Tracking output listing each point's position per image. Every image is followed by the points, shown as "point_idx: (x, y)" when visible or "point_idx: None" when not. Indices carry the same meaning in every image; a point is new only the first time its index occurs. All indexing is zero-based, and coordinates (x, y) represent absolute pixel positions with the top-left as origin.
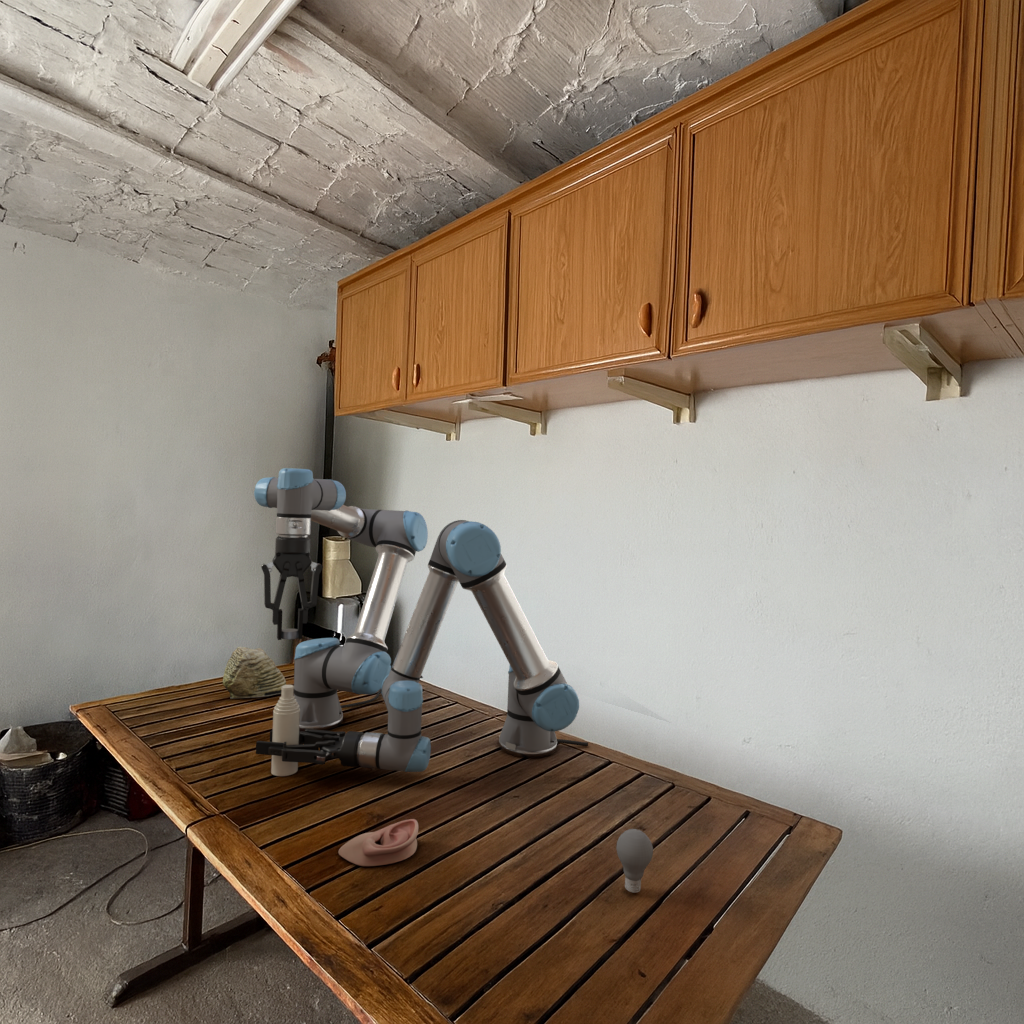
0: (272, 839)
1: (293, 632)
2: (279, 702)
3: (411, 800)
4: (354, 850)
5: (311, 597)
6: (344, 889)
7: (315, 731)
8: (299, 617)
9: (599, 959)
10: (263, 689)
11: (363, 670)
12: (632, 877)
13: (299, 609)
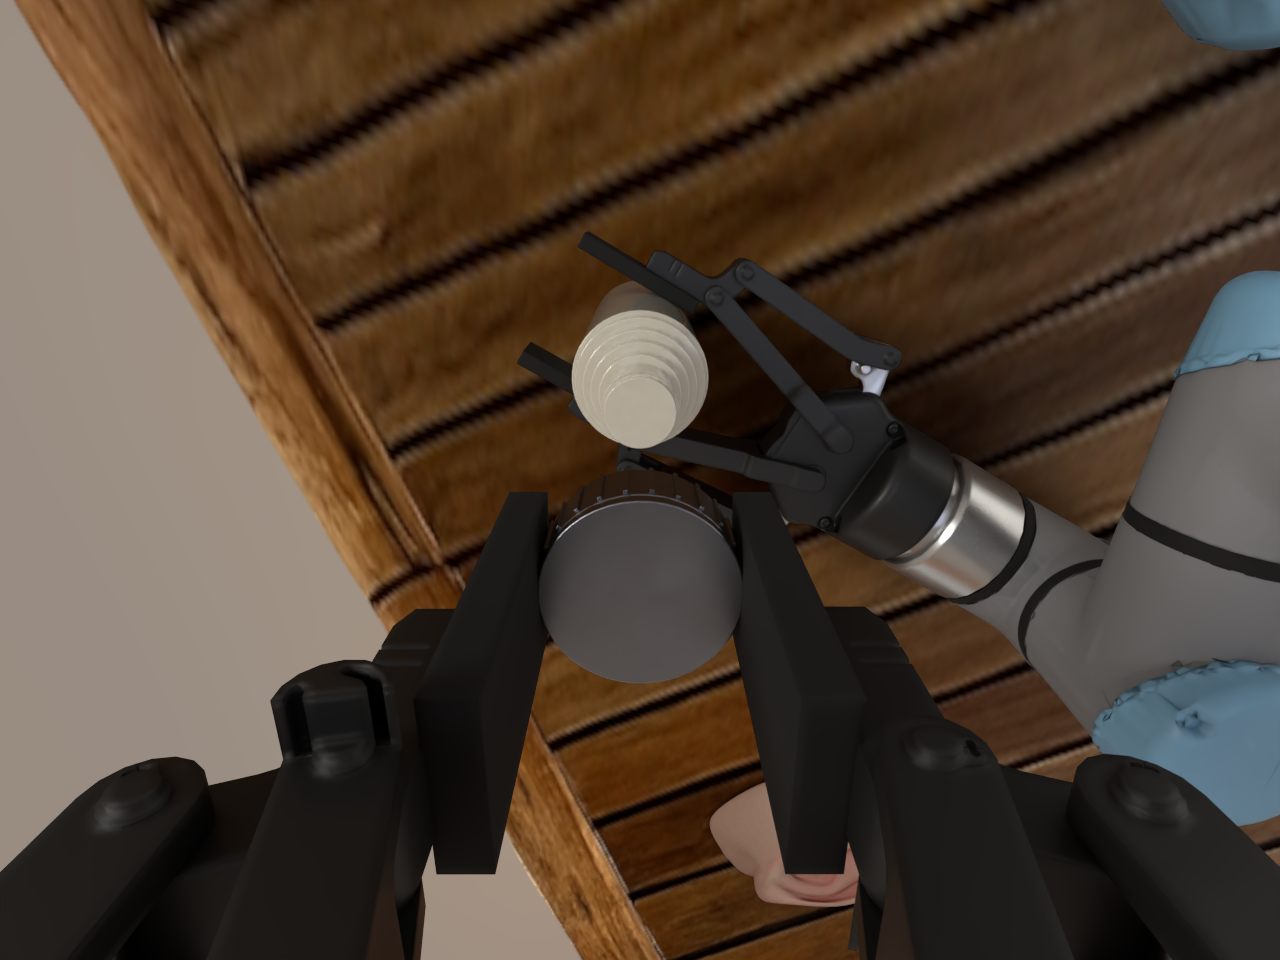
0: (577, 723)
1: (672, 675)
2: (596, 413)
3: (961, 656)
4: (740, 853)
5: (1194, 957)
6: (696, 911)
7: (777, 308)
8: (765, 782)
9: None
10: None
11: None
12: None
13: (803, 779)
